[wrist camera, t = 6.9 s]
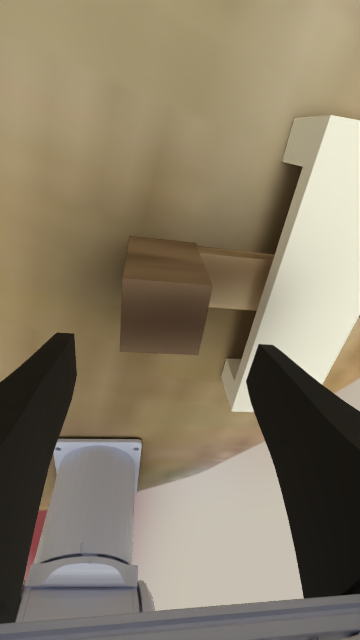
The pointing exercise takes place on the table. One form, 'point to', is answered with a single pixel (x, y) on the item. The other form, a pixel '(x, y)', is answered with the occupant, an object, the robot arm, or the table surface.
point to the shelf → (311, 258)
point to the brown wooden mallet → (183, 292)
